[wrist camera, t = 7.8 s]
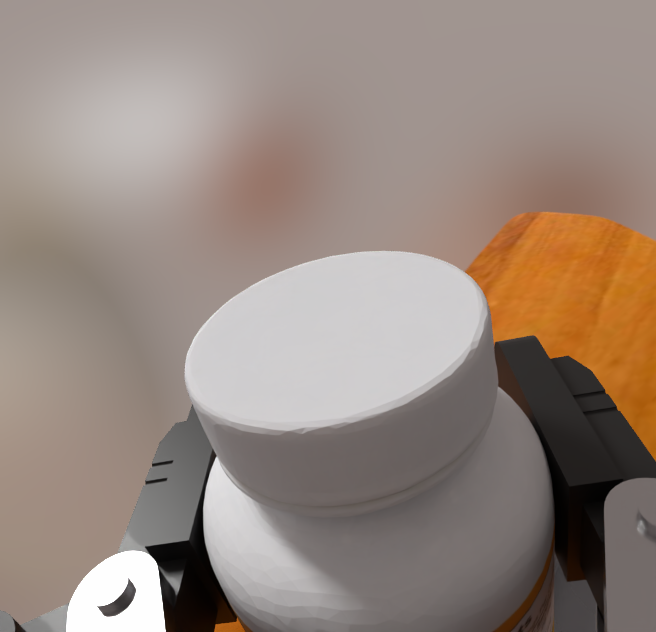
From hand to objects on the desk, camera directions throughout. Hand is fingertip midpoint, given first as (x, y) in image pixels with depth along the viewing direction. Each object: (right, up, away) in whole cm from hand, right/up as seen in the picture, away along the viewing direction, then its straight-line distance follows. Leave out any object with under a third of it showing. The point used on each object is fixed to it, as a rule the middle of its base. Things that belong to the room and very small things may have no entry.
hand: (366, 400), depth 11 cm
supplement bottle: (+1, -7, +1) cm, 7 cm away
